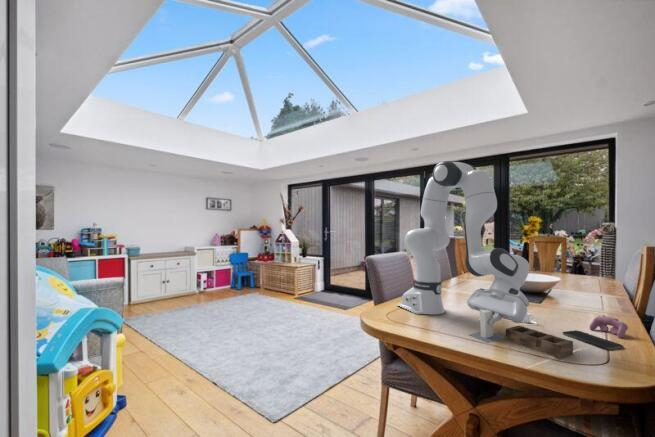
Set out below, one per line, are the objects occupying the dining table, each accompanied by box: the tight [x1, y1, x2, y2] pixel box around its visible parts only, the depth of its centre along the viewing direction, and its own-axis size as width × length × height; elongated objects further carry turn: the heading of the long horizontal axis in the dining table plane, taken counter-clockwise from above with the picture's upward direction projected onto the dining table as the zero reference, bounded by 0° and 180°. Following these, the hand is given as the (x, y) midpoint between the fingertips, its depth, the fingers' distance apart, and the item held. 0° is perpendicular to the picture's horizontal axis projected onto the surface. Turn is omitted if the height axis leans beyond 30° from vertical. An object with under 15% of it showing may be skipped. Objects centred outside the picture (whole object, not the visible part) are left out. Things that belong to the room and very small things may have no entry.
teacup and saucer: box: [515, 312, 538, 326], centre depth 123 cm, size 9×8×4 cm
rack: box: [505, 325, 574, 360], centre depth 98 cm, size 17×8×4 cm, turn 26°
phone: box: [562, 329, 624, 351], centre depth 103 cm, size 8×1×15 cm
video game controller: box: [589, 315, 629, 339], centre depth 110 cm, size 10×5×7 cm, turn 22°
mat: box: [468, 331, 506, 344], centre depth 107 cm, size 8×10×1 cm
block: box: [479, 310, 494, 338], centre depth 107 cm, size 2×4×9 cm, turn 116°
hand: (485, 323), depth 107 cm, fingers closed on block, 2 cm apart
